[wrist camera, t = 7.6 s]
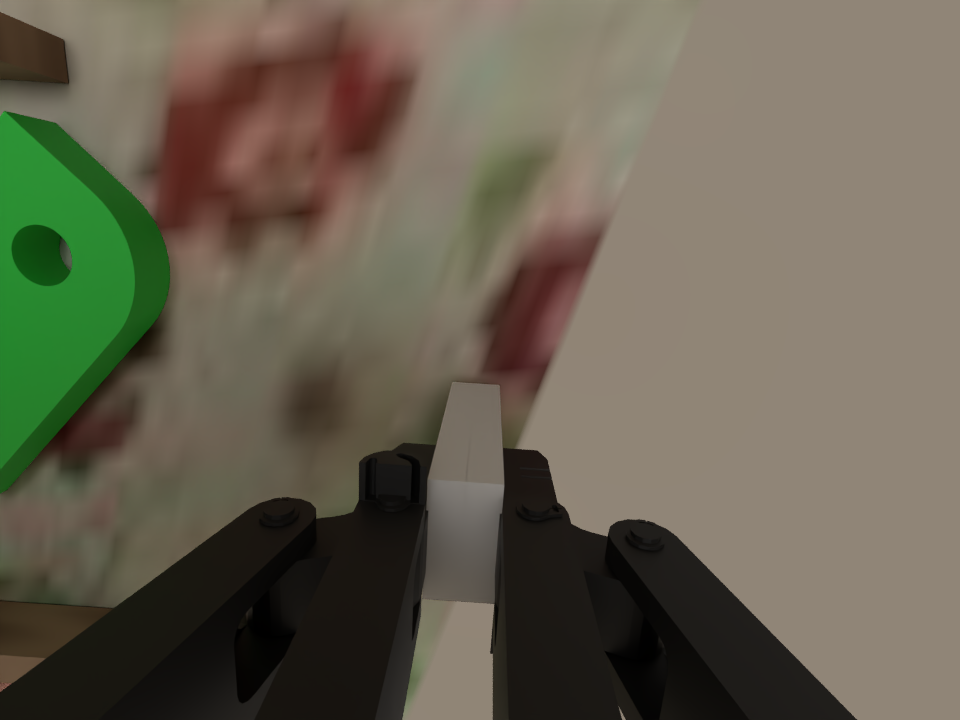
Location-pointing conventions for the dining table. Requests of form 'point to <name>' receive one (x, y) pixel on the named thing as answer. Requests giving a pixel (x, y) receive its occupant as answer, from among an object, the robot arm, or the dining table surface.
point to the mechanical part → (65, 282)
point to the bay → (15, 625)
